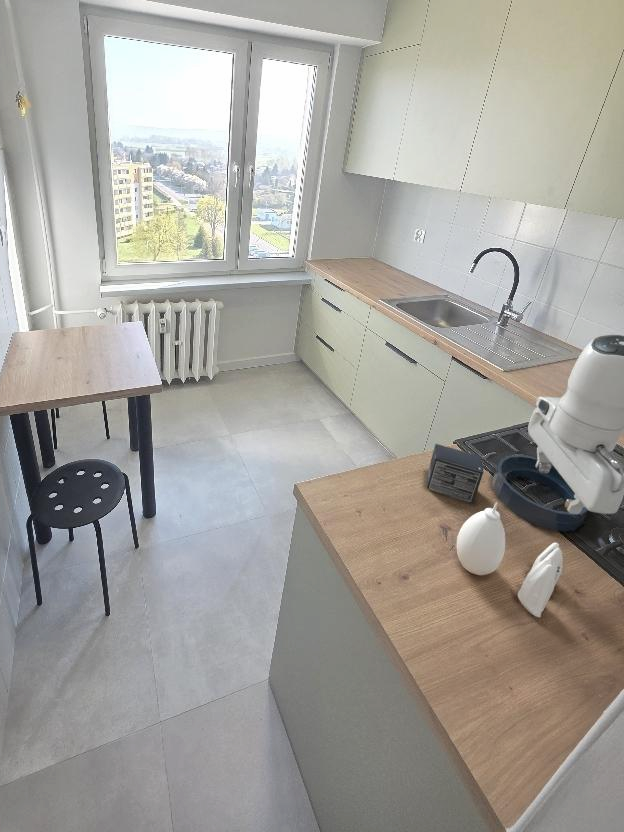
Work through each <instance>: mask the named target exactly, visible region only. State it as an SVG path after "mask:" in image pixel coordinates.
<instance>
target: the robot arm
mask: <svg viewBox="0 0 624 832" xmlns="http://www.w3.org/2000/svg"><path fill="white" fill-rule="evenodd" d="M575 361H576V362H575V363H574V365H573V367H572V370H571V371H570V374H569V376H568V379H567V389H566V391H565V393H563V395H562V396H561V397H555V396H554V397H553V396H538V398H537V399H536V403H535V405H536V407H535V408H534V410H533V412H532V414H531V416H530V419H529V422H528V425H527V431H528V435H529V437H530V439H532V441H533V442H534V443H535V444H536V446H537V448H536V458H537V460H538V461H537V463H536V465H535V466H536V468H537V469H538V470H539V472H540V473H549V471H550V469H551V467H552V466H551V465H550V464H549V463H551V464H552V465H553V466H554V467H555V468H556V470H557V471H558V472H559V474H560V475H561V476H562V477H563V479H564V480H565V481H566V483H567V484H568V485H569V486H570V488H571V489H572V490H573V492H574V493H575V495H574V498H575V499H576V500H571V499H567V500H566V502H565V501H564V502H565V503H564V504H563V506H564V508H565V509H566V511H567V512H569V513H570V514H580V512H581V510H582V508H584V507H586V508H587V509H588V510H589V511H588V512H592V513H596V514H605V515H613V514H616V513H617V512H618V510H619V509H620V506H621V504H622V501H623V499H624V465H623V464H622V463H621V461H619V460H618V459H617V458H615V456H614V455H613V454H612V452H613V451H614V449H615V447H616V446H617V444H618V442H619V441H620V438H621V436H622V434H623V432H624V335H621V334H607V335H606V334H605V335H601V336H600V335H599V336H596V337H595V338H593V339H592V340H591V341H590V342H589V343H588V344H587V345H586V346H585V347H584V348H583V350H582V351H581V353H580V354H579V355H578V358H577V359H576V360H575Z"/></svg>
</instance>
